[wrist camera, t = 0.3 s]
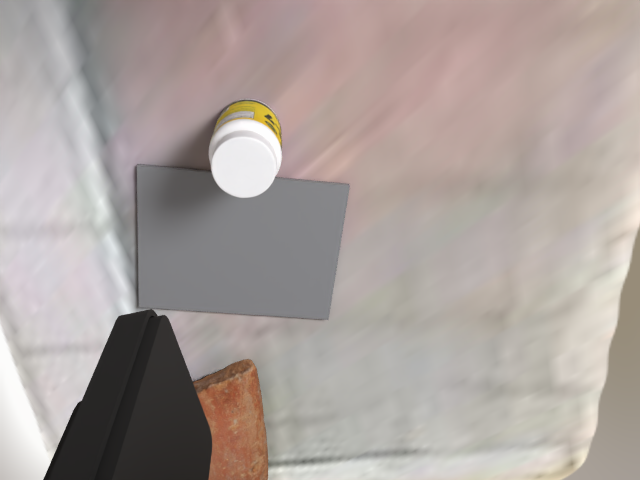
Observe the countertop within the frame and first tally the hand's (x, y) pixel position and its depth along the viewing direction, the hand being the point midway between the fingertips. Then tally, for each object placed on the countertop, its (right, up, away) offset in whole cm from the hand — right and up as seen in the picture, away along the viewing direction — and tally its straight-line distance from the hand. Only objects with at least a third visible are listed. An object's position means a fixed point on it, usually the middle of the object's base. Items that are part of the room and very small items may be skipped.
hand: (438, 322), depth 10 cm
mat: (-8, +1, +37) cm, 38 cm away
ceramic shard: (-15, -16, +46) cm, 50 cm away
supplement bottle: (-7, +10, +33) cm, 35 cm away
